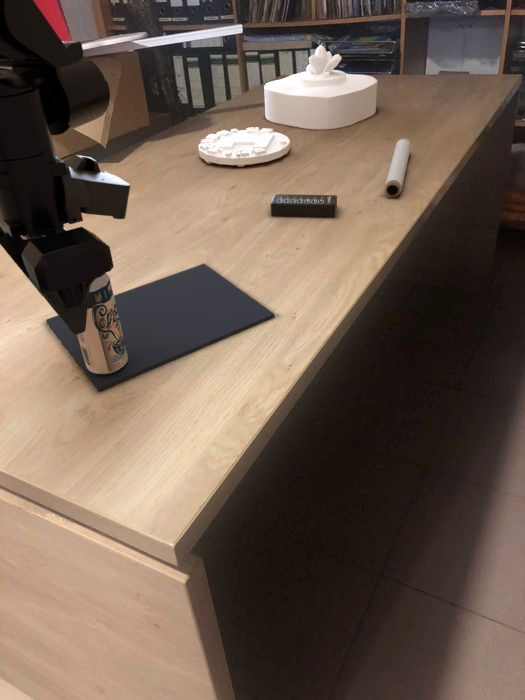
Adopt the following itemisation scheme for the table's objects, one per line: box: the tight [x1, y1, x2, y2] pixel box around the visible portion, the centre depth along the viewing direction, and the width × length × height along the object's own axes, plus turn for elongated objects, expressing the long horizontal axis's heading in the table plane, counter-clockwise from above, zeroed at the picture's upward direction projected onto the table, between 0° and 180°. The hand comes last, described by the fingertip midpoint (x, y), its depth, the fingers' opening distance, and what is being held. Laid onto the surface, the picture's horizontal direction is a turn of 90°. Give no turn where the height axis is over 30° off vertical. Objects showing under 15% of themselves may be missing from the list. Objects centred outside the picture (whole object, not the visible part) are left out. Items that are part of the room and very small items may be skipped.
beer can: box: [77, 272, 128, 374], centre depth 65 cm, size 5×5×12 cm
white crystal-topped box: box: [263, 44, 378, 131], centre depth 149 cm, size 25×25×16 cm
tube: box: [384, 138, 412, 198], centre depth 114 cm, size 3×3×25 cm
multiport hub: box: [270, 193, 338, 219], centre depth 102 cm, size 4×11×2 cm, turn 79°
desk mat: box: [45, 263, 275, 392], centre depth 77 cm, size 24×18×1 cm
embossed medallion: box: [198, 126, 291, 168], centre depth 130 cm, size 20×20×3 cm
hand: (62, 312), depth 58 cm, fingers open, 9 cm apart
